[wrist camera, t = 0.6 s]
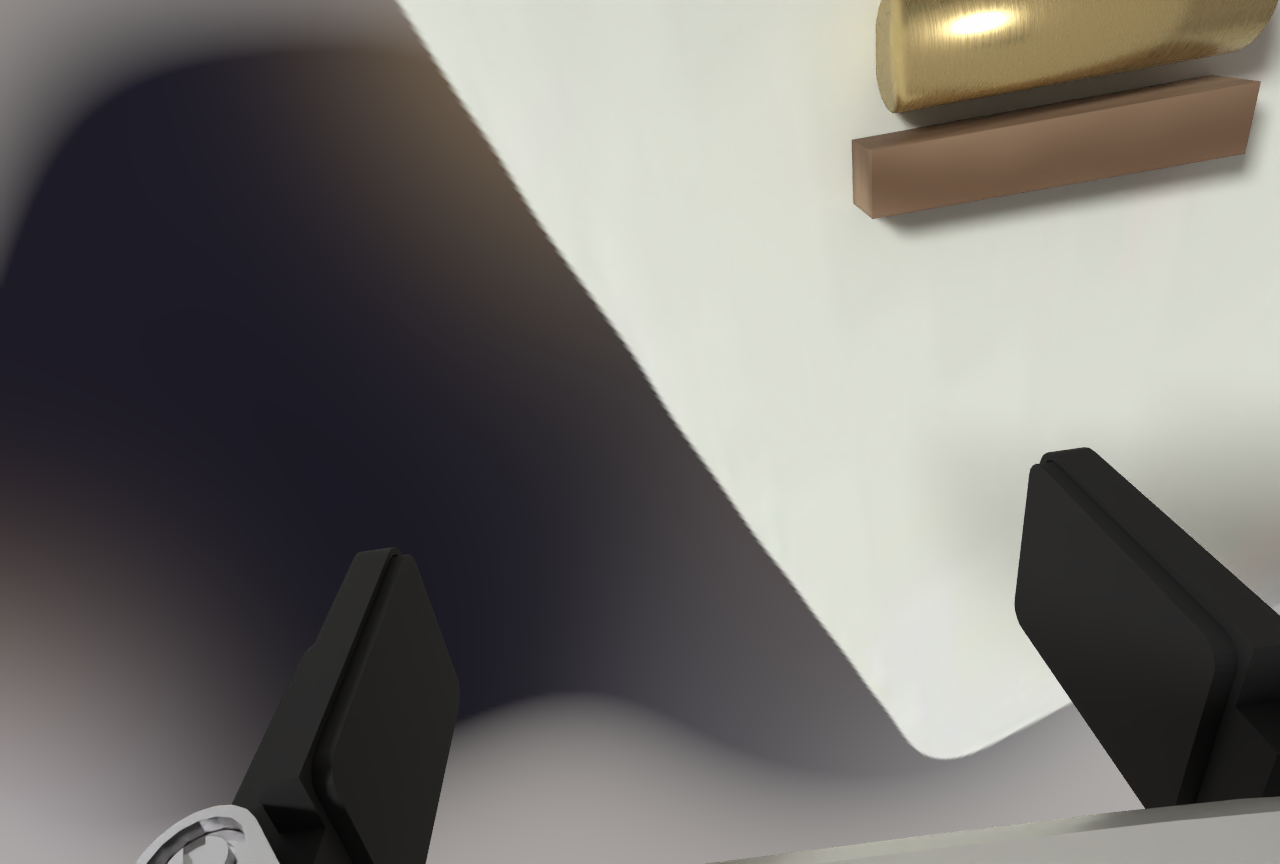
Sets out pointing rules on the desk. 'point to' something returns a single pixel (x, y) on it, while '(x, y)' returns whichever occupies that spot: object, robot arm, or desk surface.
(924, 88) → the axle
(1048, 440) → the desk surface
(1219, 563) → the robot arm
